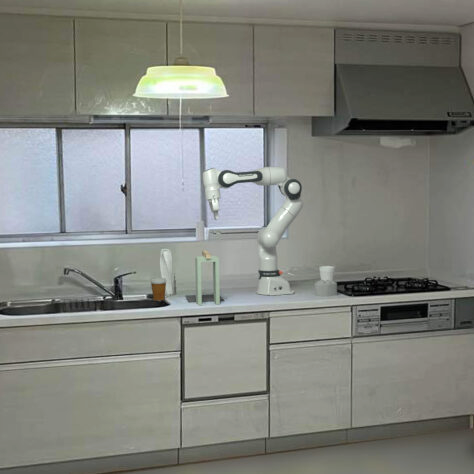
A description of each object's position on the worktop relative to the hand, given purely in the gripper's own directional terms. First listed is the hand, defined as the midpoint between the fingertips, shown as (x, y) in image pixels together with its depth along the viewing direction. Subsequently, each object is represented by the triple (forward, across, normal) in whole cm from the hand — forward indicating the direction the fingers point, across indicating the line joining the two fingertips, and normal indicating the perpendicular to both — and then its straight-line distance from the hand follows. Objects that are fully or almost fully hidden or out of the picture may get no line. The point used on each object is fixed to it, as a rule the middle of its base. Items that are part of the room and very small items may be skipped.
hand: (216, 219), depth 426 cm
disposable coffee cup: (+41, -3, +41) cm, 58 cm away
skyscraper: (+40, +13, +36) cm, 55 cm away
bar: (+20, -20, +10) cm, 30 cm away
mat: (+44, -5, +15) cm, 47 cm away
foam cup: (+53, +22, -63) cm, 85 cm away
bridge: (+46, -21, +14) cm, 53 cm away
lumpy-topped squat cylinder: (+54, -4, -56) cm, 78 cm away
